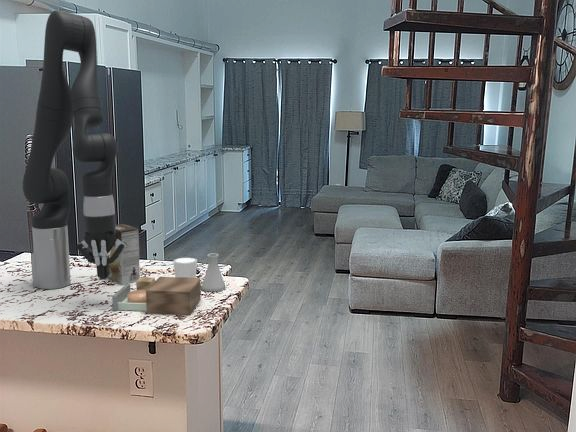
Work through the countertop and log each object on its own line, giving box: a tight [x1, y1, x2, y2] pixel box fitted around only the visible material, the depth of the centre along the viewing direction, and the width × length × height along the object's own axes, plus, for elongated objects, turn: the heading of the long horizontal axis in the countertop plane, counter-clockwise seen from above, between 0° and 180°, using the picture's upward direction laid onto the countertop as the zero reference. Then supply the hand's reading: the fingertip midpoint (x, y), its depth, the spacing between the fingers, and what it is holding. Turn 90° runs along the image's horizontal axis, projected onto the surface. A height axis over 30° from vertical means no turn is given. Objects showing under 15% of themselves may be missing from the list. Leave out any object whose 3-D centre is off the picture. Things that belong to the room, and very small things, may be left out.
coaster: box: [127, 289, 146, 303], centre depth 149 cm, size 6×6×2 cm
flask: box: [200, 252, 226, 293], centre depth 163 cm, size 7×7×10 cm
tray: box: [112, 283, 147, 312], centre depth 149 cm, size 11×10×4 cm
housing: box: [146, 276, 202, 316], centre depth 148 cm, size 11×12×6 cm
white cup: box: [172, 257, 198, 278], centre depth 168 cm, size 7×7×7 cm
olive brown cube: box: [135, 276, 156, 290], centre depth 160 cm, size 4×4×4 cm
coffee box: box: [106, 223, 141, 286], centre depth 169 cm, size 9×6×16 cm
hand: (103, 278), depth 149 cm, fingers closed
